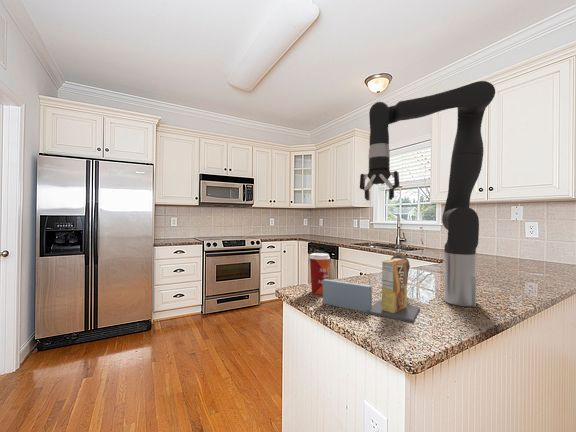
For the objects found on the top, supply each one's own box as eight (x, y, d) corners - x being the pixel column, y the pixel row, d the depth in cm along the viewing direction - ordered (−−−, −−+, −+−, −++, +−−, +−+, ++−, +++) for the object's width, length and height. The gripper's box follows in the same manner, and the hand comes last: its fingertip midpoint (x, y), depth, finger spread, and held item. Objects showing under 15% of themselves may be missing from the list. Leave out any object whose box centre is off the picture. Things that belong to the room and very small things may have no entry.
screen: (371, 310, 86) (371, 285, 86) (369, 312, 84) (369, 286, 84) (325, 302, 95) (325, 279, 95) (322, 303, 93) (322, 280, 93)
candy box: (395, 304, 90) (395, 257, 90) (407, 307, 87) (407, 259, 87) (381, 310, 84) (381, 260, 84) (394, 314, 81) (394, 262, 81)
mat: (419, 309, 87) (419, 307, 87) (413, 322, 76) (413, 319, 76) (378, 302, 94) (378, 300, 94) (367, 313, 84) (367, 310, 84)
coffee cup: (324, 296, 101) (324, 256, 101) (305, 293, 105) (305, 254, 105) (333, 291, 108) (333, 253, 108) (314, 288, 112) (315, 252, 112)
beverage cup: (388, 297, 100) (388, 243, 100) (389, 292, 106) (389, 241, 106) (410, 300, 97) (410, 244, 97) (409, 294, 104) (409, 242, 104)
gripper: (400, 157, 103) (400, 200, 103) (363, 161, 111) (363, 201, 111) (396, 153, 97) (396, 198, 97) (357, 157, 105) (357, 200, 105)
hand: (378, 200), depth 104 cm, fingers open, 8 cm apart
